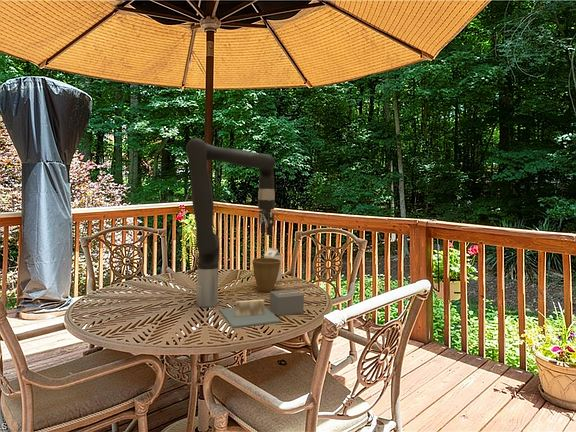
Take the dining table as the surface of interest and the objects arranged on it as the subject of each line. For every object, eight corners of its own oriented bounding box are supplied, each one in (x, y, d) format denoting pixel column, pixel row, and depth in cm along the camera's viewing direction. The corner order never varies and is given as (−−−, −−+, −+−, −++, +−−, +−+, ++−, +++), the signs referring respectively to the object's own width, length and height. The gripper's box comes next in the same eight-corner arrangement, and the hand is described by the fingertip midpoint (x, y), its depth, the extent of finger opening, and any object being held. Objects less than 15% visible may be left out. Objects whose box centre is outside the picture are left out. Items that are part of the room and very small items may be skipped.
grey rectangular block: (277, 315, 174) (278, 296, 173) (269, 308, 183) (270, 290, 182) (303, 312, 178) (303, 293, 178) (294, 306, 188) (294, 287, 187)
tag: (263, 314, 173) (236, 316, 169) (262, 312, 175) (235, 315, 171) (264, 300, 172) (236, 302, 169) (263, 299, 174) (235, 301, 170)
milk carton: (271, 278, 238) (272, 246, 237) (280, 280, 234) (281, 248, 232) (263, 281, 233) (264, 248, 231) (272, 283, 228) (273, 249, 227)
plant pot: (279, 294, 206) (280, 263, 205) (250, 293, 207) (250, 262, 205) (280, 286, 221) (281, 257, 220) (253, 285, 222) (253, 257, 220)
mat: (232, 328, 158) (232, 326, 158) (219, 311, 178) (219, 309, 178) (280, 322, 166) (280, 320, 166) (262, 306, 186) (262, 304, 186)
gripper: (254, 198, 191) (253, 232, 193) (263, 199, 178) (263, 236, 180) (269, 198, 194) (268, 231, 196) (279, 199, 181) (279, 235, 182)
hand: (266, 233), depth 188 cm, fingers open, 8 cm apart
